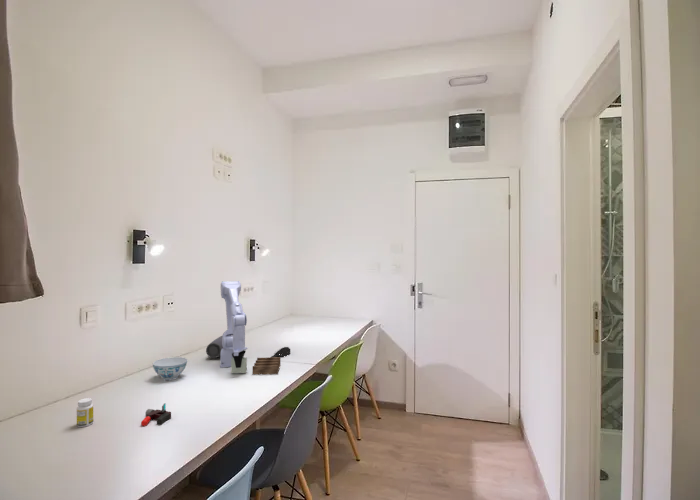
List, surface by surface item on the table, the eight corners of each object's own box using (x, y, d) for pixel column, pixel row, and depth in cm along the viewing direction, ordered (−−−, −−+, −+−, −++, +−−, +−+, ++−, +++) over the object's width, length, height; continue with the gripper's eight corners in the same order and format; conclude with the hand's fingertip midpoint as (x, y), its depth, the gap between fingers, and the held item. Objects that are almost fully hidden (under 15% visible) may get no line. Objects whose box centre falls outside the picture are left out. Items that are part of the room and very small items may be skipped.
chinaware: (174, 384, 174) (174, 367, 174) (144, 381, 177) (145, 364, 177) (193, 373, 188) (194, 358, 188) (166, 371, 191) (166, 356, 191)
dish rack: (252, 374, 187) (252, 366, 187) (257, 365, 202) (257, 357, 202) (277, 374, 188) (277, 365, 188) (280, 364, 203) (280, 357, 203)
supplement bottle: (90, 420, 137) (90, 396, 137) (95, 423, 134) (95, 399, 134) (74, 424, 133) (74, 400, 133) (79, 428, 130) (79, 404, 130)
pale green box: (231, 373, 188) (231, 358, 188) (232, 371, 190) (232, 357, 190) (245, 372, 189) (245, 358, 188) (246, 371, 190) (246, 357, 190)
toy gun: (149, 413, 144) (149, 400, 144) (175, 418, 140) (175, 404, 140) (126, 424, 134) (127, 410, 134) (153, 430, 131) (154, 415, 131)
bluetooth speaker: (221, 360, 211) (222, 342, 211) (204, 360, 211) (205, 342, 211) (235, 349, 234) (235, 333, 234) (219, 349, 234) (219, 333, 234)
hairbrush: (260, 358, 207) (280, 345, 231) (260, 365, 207) (280, 351, 231) (274, 359, 204) (293, 346, 228) (274, 366, 205) (293, 352, 229)
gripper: (244, 342, 182) (244, 371, 182) (249, 335, 197) (249, 362, 197) (229, 342, 182) (229, 371, 182) (235, 335, 196) (235, 362, 196)
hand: (238, 366), depth 189 cm, fingers closed on pale green box, 2 cm apart
